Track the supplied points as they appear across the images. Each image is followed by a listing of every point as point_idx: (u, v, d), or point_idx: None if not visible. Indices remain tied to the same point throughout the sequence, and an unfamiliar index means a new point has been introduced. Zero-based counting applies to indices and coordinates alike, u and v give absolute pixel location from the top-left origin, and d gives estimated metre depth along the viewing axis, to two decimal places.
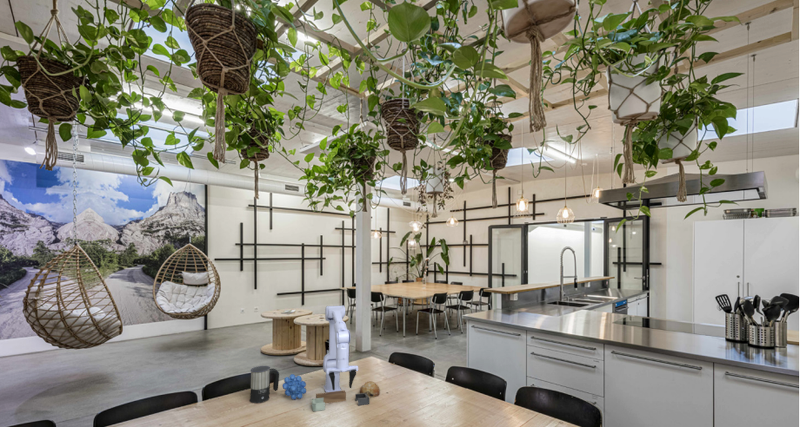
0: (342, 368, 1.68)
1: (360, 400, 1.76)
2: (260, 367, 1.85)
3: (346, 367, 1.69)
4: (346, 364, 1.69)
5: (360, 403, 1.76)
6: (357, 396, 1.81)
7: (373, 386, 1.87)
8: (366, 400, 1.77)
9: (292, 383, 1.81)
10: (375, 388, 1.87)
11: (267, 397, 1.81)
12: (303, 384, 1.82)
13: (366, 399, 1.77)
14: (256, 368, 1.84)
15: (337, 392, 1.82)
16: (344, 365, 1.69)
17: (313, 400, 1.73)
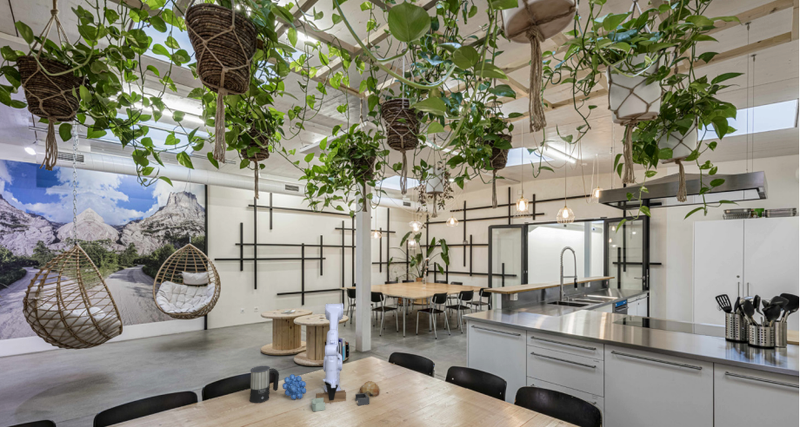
0: (325, 377, 1.81)
1: (360, 400, 1.76)
2: (260, 367, 1.86)
3: (326, 378, 1.79)
4: (326, 376, 1.79)
5: (360, 403, 1.76)
6: (357, 396, 1.81)
7: (373, 386, 1.87)
8: (366, 400, 1.77)
9: (292, 383, 1.81)
10: (375, 388, 1.87)
11: (267, 397, 1.81)
12: (303, 384, 1.82)
13: (366, 399, 1.77)
14: (256, 368, 1.84)
15: (337, 392, 1.82)
16: (325, 375, 1.80)
17: (313, 400, 1.73)
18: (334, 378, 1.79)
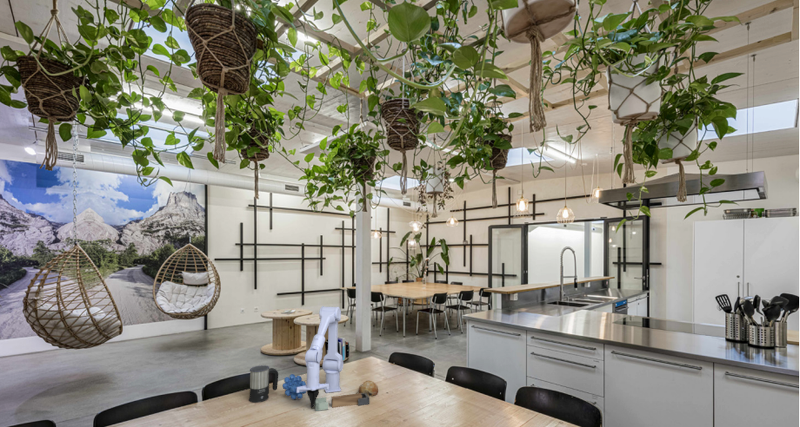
0: (312, 387, 1.70)
1: (360, 400, 1.76)
2: (260, 367, 1.86)
3: (316, 386, 1.71)
4: (316, 383, 1.71)
5: (360, 403, 1.76)
6: None
7: (372, 385, 1.88)
8: (366, 400, 1.77)
9: (292, 383, 1.81)
10: (374, 387, 1.88)
11: (266, 396, 1.82)
12: (303, 384, 1.82)
13: (366, 399, 1.77)
14: (255, 368, 1.84)
15: (353, 395, 1.78)
16: (314, 384, 1.70)
17: (316, 400, 1.74)
18: None
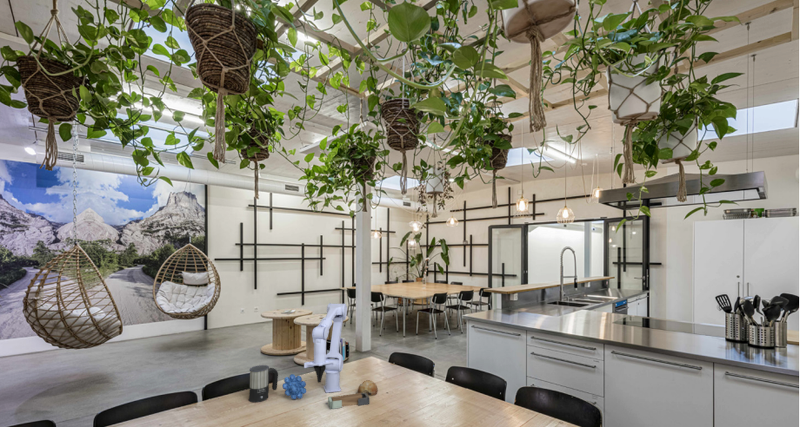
0: (319, 362, 1.76)
1: (360, 400, 1.76)
2: (259, 366, 1.86)
3: (323, 361, 1.77)
4: (323, 358, 1.77)
5: (360, 403, 1.76)
6: None
7: (371, 385, 1.89)
8: (366, 400, 1.77)
9: (292, 383, 1.81)
10: (373, 387, 1.88)
11: (266, 396, 1.82)
12: (303, 384, 1.82)
13: (366, 399, 1.77)
14: (255, 367, 1.85)
15: (353, 395, 1.78)
16: (321, 359, 1.76)
17: (330, 398, 1.76)
18: None
